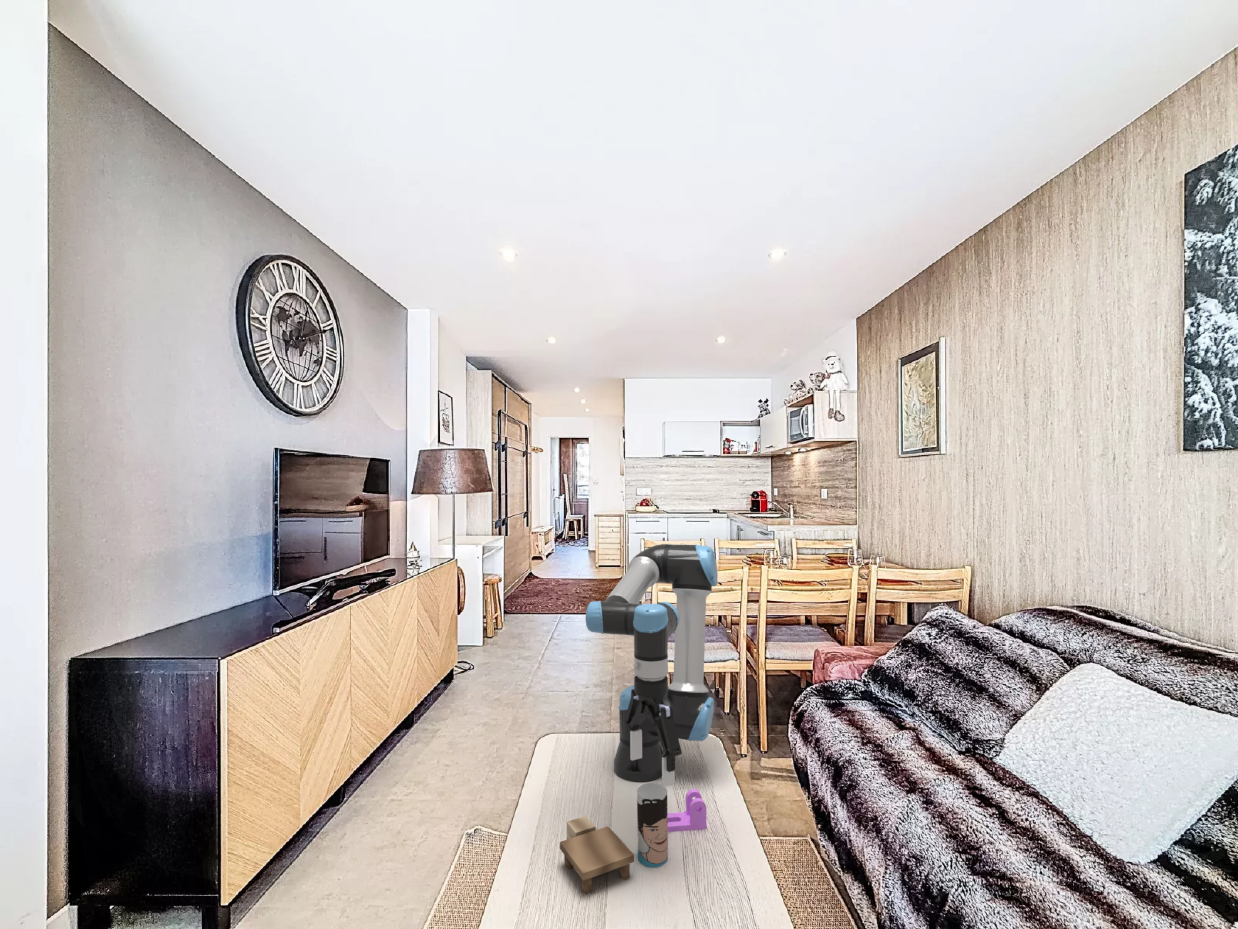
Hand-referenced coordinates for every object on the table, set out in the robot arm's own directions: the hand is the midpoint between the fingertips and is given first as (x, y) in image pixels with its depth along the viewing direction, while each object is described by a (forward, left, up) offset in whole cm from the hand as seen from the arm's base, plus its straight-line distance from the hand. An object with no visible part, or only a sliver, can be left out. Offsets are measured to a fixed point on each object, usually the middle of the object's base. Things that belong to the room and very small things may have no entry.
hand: (651, 771), depth 139 cm
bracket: (-12, -8, -20) cm, 25 cm away
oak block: (+12, -12, -20) cm, 26 cm away
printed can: (0, 0, -20) cm, 20 cm away
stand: (+13, -2, -20) cm, 23 cm away
